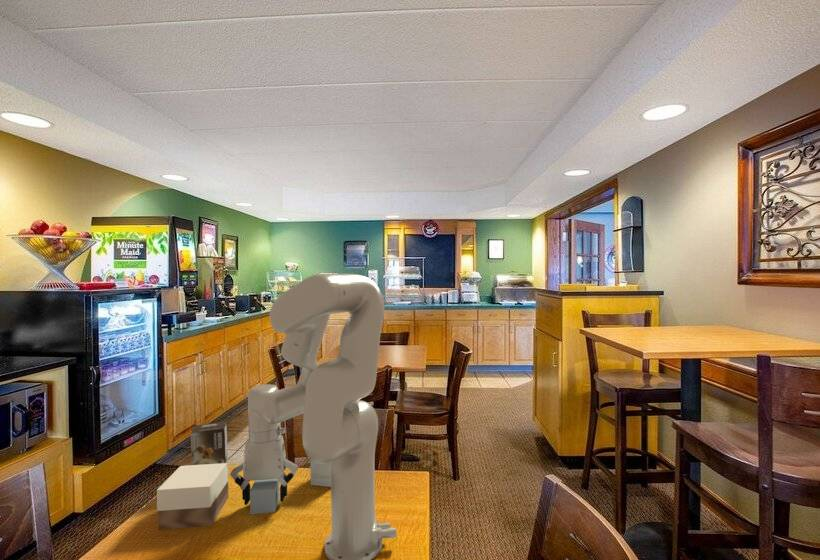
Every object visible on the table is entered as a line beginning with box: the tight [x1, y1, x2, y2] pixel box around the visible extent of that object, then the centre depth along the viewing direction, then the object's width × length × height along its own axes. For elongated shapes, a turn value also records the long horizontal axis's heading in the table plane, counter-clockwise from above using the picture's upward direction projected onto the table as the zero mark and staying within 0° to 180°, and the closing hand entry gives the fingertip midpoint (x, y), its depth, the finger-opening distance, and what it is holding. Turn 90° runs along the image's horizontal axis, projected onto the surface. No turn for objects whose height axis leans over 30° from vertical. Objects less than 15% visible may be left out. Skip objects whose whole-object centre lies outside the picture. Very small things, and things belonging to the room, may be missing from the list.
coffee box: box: [190, 421, 230, 476], centre depth 116 cm, size 9×6×16 cm
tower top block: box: [156, 463, 229, 512], centre depth 100 cm, size 12×12×5 cm
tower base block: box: [158, 481, 229, 531], centre depth 100 cm, size 12×12×5 cm
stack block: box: [249, 479, 280, 515], centre depth 103 cm, size 6×6×6 cm
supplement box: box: [309, 459, 332, 488], centre depth 115 cm, size 7×7×13 cm
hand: (265, 500), depth 103 cm, fingers open, 8 cm apart
